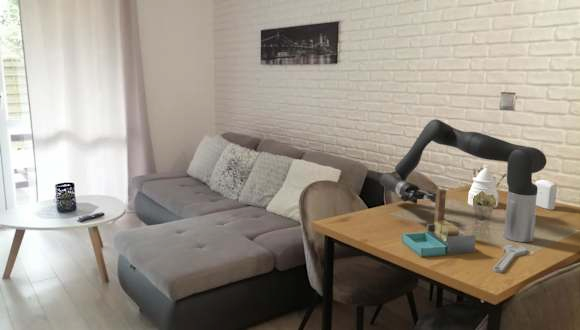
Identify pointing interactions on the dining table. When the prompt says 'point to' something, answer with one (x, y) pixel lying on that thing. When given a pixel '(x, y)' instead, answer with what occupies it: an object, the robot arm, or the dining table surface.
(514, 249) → the adjustable wrench
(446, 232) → the brass block
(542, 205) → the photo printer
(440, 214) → the wooden post on base
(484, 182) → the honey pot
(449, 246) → the rail channel
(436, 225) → the brass block
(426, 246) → the tray
